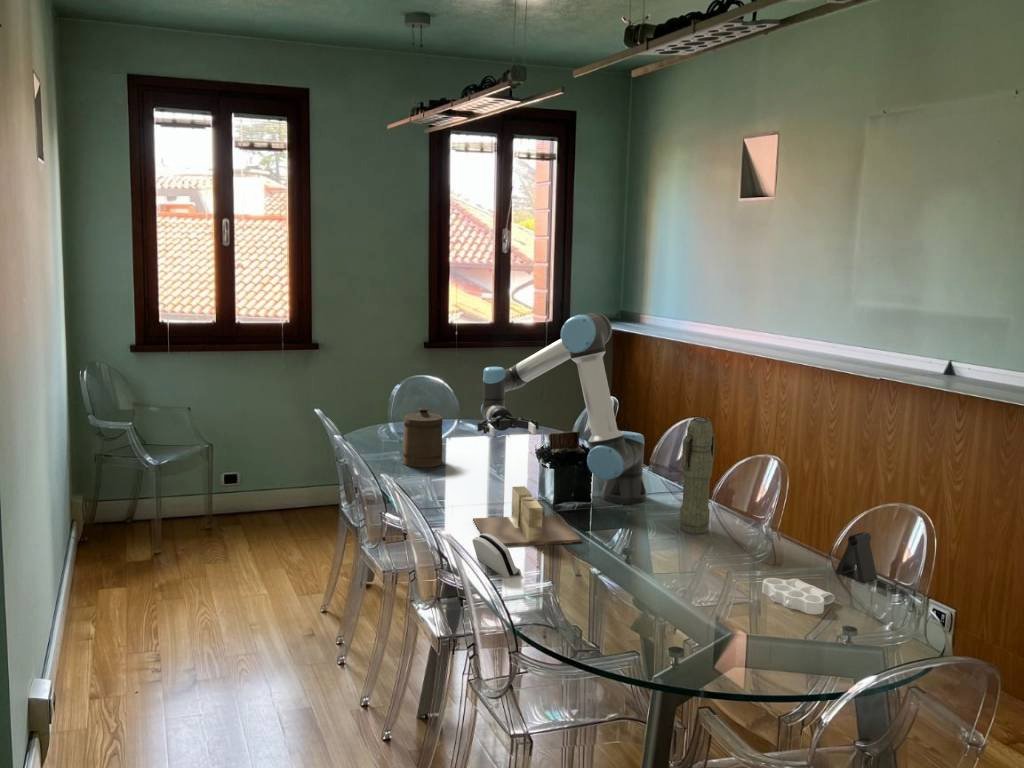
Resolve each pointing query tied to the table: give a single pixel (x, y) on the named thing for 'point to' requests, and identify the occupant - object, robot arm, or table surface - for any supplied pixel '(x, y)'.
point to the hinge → (494, 555)
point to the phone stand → (858, 559)
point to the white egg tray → (797, 595)
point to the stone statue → (697, 476)
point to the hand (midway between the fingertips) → (513, 431)
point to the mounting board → (516, 537)
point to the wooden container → (422, 439)
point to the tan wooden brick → (518, 502)
